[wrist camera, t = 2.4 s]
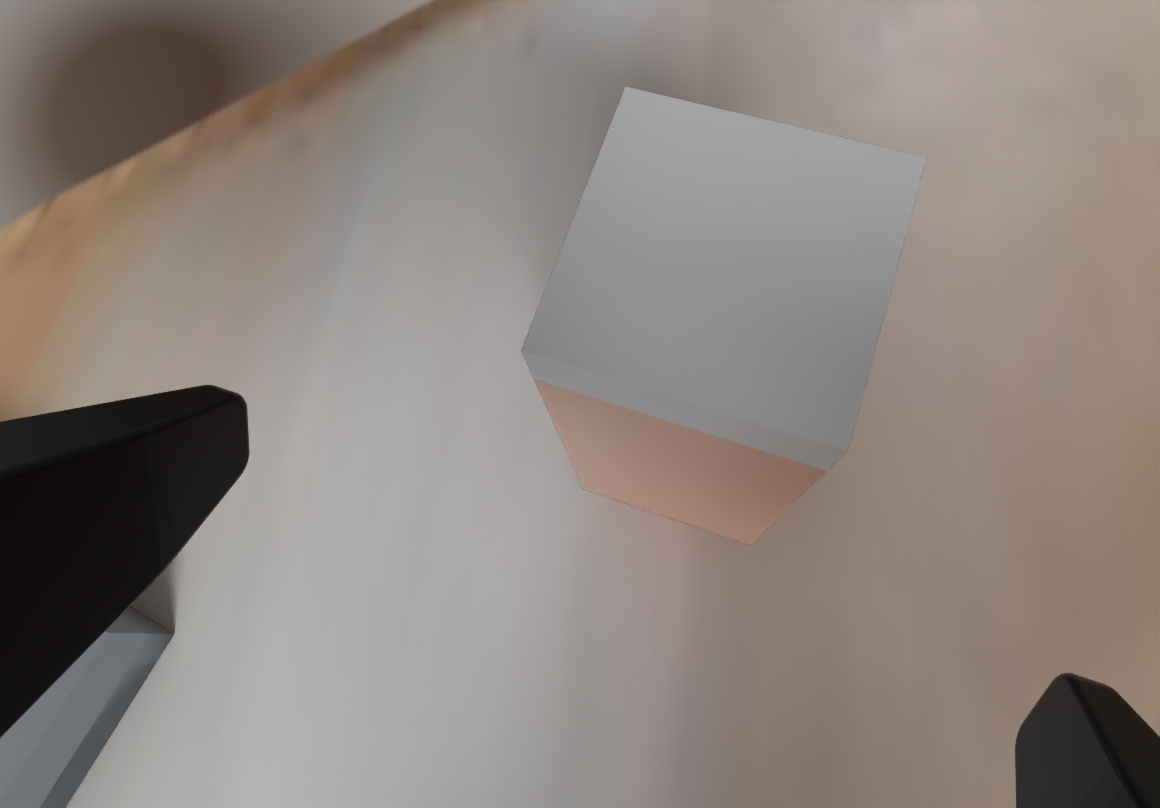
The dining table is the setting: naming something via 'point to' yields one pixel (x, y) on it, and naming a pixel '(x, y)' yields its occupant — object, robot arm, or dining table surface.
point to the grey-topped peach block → (718, 309)
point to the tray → (77, 715)
